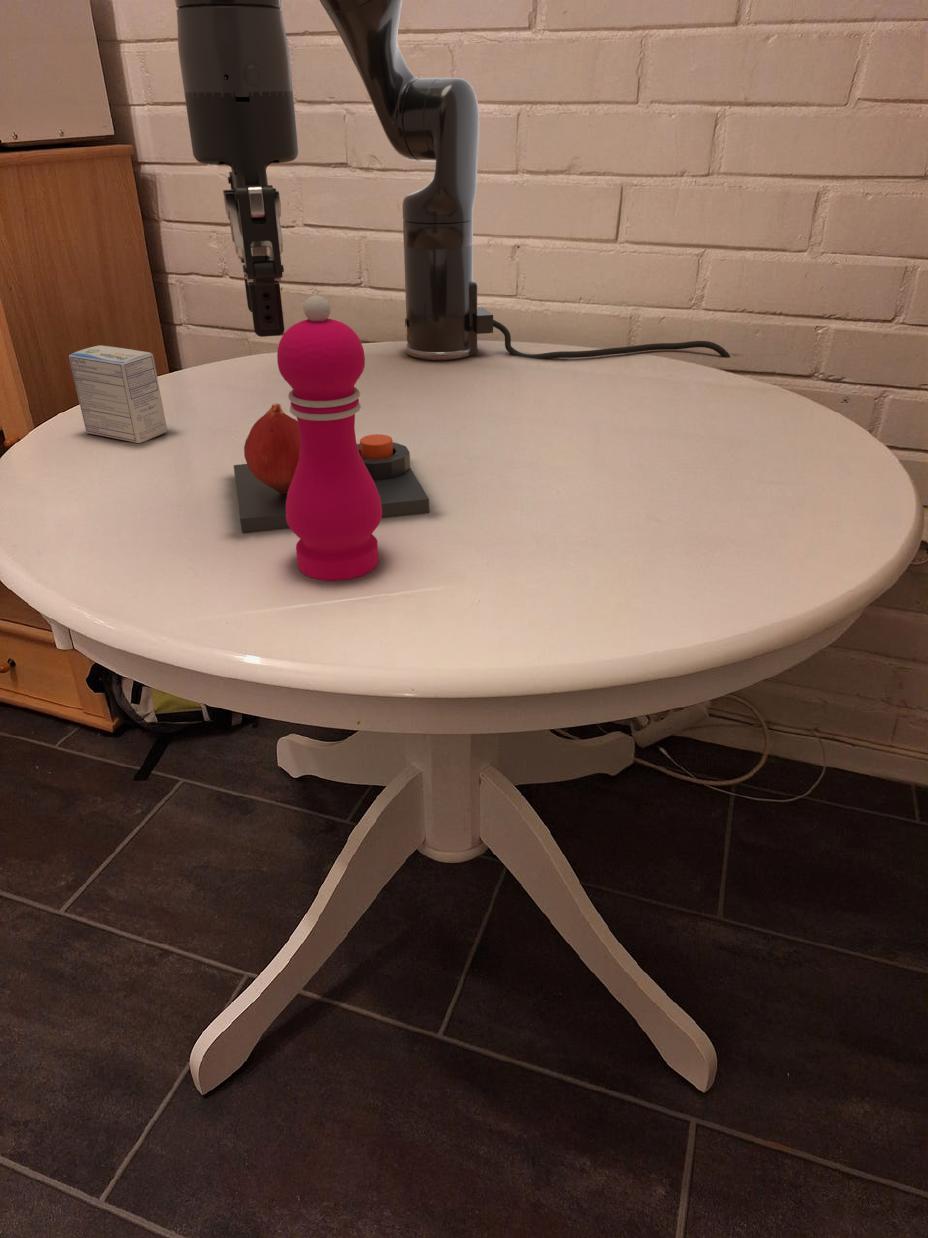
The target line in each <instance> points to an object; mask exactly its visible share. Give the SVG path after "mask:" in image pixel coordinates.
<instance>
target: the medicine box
mask: <svg viewBox="0 0 928 1238" xmlns="http://www.w3.org/2000/svg"><path fill="white" fill-rule="evenodd" d="M68 359H69V363H70V368H71V372H72V376H73V377H72V378H73V381H74V385H75V389H76V393H77V399H78V402H79V406H80V412H81V415H82V420H83V424H84V428H85V432H86V433H87V434H90V435H95V436H101V437H106V438H111V439H116V440H121V441H125V442H131V443H136V444H141V443H145V442H147V441H150V440H153V439H154V438H157V437H159V436H162V435H164V434H166V433H167V432H168V425H167V421H166V416H165V410H164V405H163V399H162V395H161V389H160V385H159V379H158V374H157V369H156V363H155V358H154V354H153V353H152V352H148V351H142V350H136V349H130V348H124V347H116V346H109V345H101V344H100V345H95V346H91V347H86V348H84V349H80V350H77V351H74V352H73V353H70V354H69V355H68Z"/></svg>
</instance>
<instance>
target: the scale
mask: <svg viewBox="0 0 928 1238" xmlns="http://www.w3.org/2000/svg"><path fill="white" fill-rule="evenodd" d="M357 447H358V450H359V453H360V455H361V452H360V443H357ZM410 454H411V453H410V451H409V449H408V447H407V446H406V445H404V444H400V443H398V442H395V441H393V456H390V457H387V458H378V459H371V458H364V457H362V456H361V458H362V460H363V462H364V464H365V466H366V468H367V469H368V471H369V473H370V475H371V477H372V479H373V481H374V482H375V485H376V488H377V490H378V493H379V496H380V500H381V506H382V518H381V519H386V518H395V517H403V516H414V515H421V514H430V498H429V496H428V494H427V493H426V492H425V490H424V488H423V486H422V485H421V483H420V481H419V480H418V478H417V477H416V475H415V473H414V471H413V470H412V468H411V456H410ZM233 472H234V480H235V488H236V489H235V490H236V497H237V506H238V512H239V513H238V514H239V521H240V527H241V529H240V530H241V534H249V533H257V532H267V531H277V530H286V529H290V527H289V526H288V524H287V520H286V499H287V494H288V493H286V494H283V493H279V492H277V491H276V490H274V489H273V488H271V487H269V486H267V485H266V484H264V483H262V482H261V481H260V480H258V479H257V478H256V477H255V476H254V475H253V473H252V472H251V471H250V469H249V467H248V465H247V463H241V464H233Z"/></svg>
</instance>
